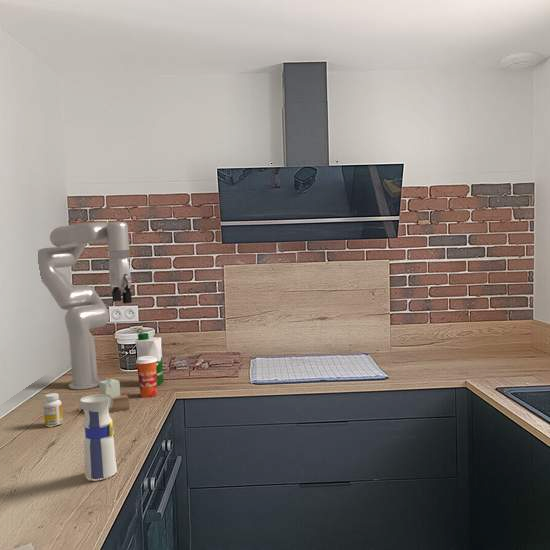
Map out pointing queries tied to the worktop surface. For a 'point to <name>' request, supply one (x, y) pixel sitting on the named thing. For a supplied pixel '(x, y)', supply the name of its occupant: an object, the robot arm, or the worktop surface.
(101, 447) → the white blue vase
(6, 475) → the worktop surface
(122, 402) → the walnut block
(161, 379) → the milk carton
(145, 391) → the paper cup
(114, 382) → the sage block
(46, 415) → the supplement bottle
